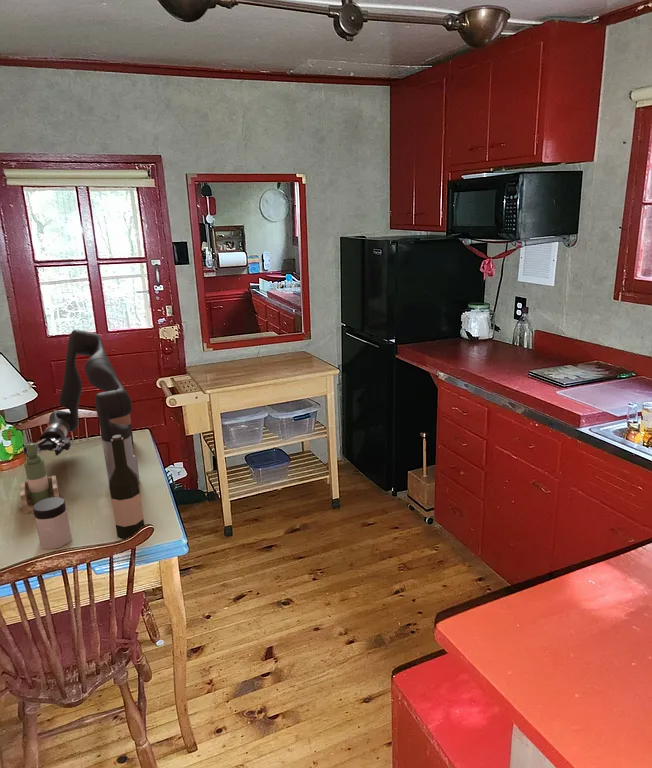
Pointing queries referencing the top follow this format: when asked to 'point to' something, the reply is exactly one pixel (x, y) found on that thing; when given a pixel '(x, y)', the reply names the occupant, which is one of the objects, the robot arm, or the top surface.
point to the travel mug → (124, 422)
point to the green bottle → (36, 475)
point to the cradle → (27, 497)
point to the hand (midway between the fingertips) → (42, 454)
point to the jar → (52, 523)
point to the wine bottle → (124, 493)
